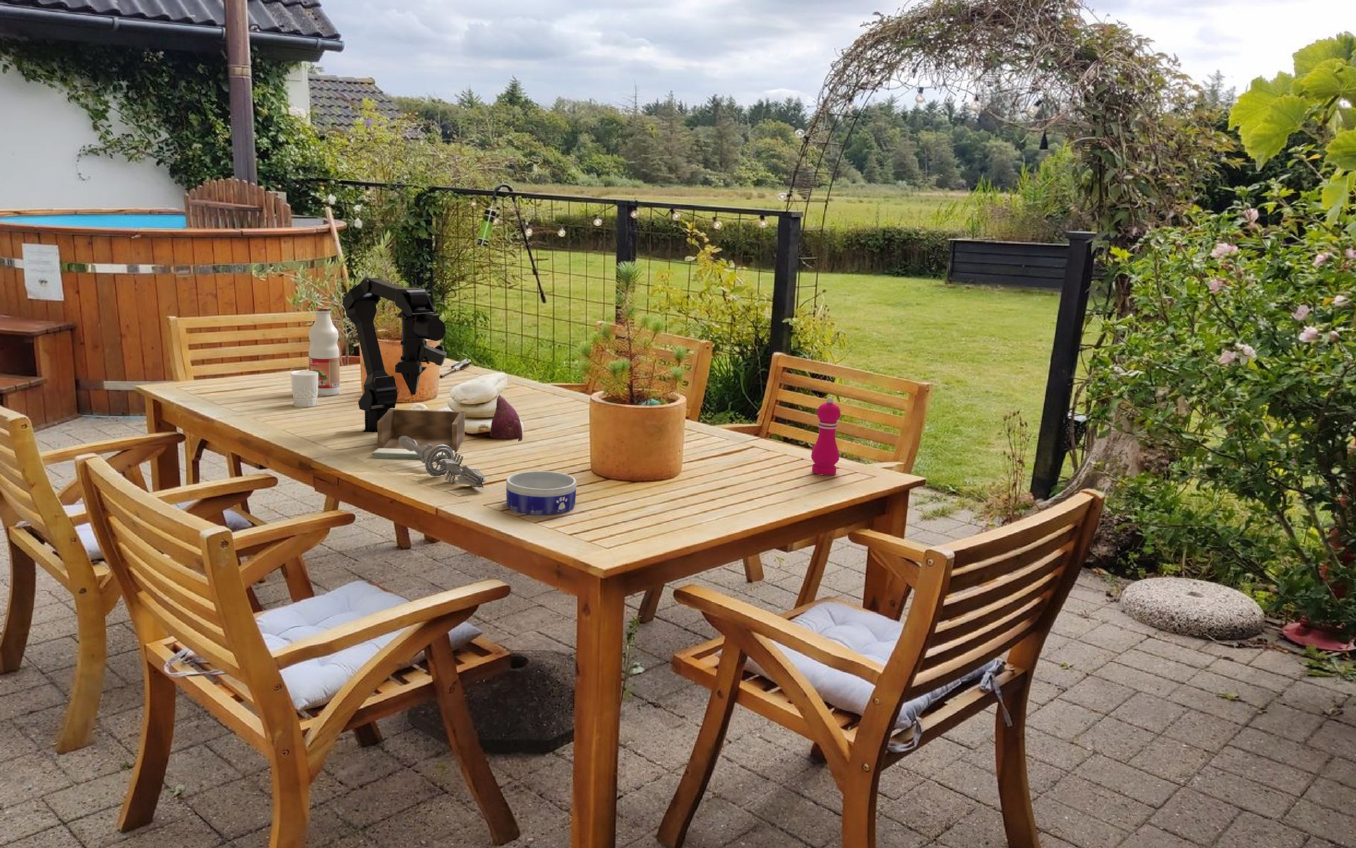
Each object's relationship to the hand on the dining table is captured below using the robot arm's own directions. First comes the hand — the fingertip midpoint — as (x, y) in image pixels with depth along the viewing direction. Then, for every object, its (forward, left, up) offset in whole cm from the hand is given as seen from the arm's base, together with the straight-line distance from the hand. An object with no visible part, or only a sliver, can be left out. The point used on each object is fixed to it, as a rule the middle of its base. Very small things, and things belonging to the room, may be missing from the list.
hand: (413, 394), depth 274 cm
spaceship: (+12, -33, -13) cm, 37 cm away
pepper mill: (+108, -19, -13) cm, 110 cm away
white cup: (-40, +43, -13) cm, 60 cm away
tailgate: (+3, -13, -12) cm, 18 cm away
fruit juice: (-39, +62, -13) cm, 75 cm away
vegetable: (+24, +8, -13) cm, 29 cm away
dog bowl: (+37, -54, -13) cm, 67 cm away
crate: (+3, -4, -13) cm, 14 cm away
